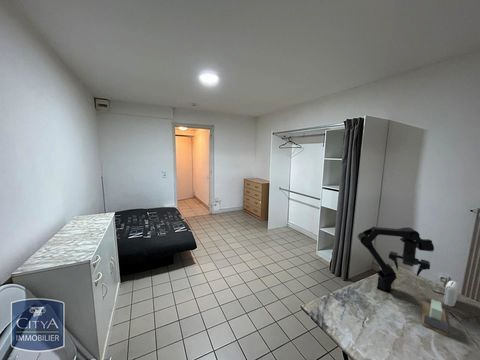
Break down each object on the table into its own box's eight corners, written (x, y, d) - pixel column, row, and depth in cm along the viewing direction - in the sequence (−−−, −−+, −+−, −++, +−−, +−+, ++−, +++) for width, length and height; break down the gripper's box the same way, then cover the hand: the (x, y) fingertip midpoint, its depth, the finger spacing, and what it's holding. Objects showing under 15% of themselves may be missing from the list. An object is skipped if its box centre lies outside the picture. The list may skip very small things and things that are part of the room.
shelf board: (422, 325, 97) (422, 323, 97) (421, 302, 111) (422, 301, 111) (448, 336, 91) (448, 334, 91) (444, 311, 105) (444, 309, 105)
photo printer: (446, 296, 117) (449, 277, 115) (457, 300, 113) (460, 281, 111) (442, 303, 111) (445, 283, 109) (453, 308, 107) (456, 288, 106)
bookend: (423, 322, 97) (424, 315, 96) (423, 321, 98) (424, 314, 97) (446, 332, 91) (448, 325, 91) (446, 331, 92) (447, 324, 92)
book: (429, 323, 96) (432, 307, 95) (429, 314, 102) (431, 298, 101) (439, 328, 94) (442, 311, 93) (438, 317, 100) (440, 302, 99)
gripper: (388, 248, 117) (386, 272, 119) (431, 259, 104) (428, 286, 106) (390, 242, 125) (388, 264, 127) (430, 252, 112) (427, 276, 115)
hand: (407, 272), depth 119 cm, fingers open, 9 cm apart
